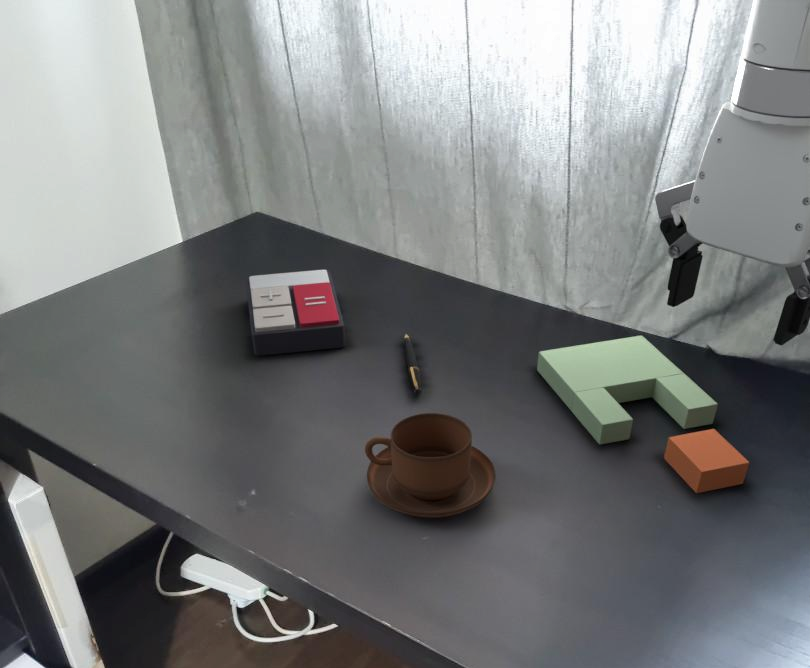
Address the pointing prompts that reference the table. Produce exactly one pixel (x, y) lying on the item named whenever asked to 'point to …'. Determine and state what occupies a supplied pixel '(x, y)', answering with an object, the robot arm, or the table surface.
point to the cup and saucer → (429, 467)
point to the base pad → (622, 385)
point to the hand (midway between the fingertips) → (730, 319)
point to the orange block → (706, 460)
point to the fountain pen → (412, 366)
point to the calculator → (294, 312)
